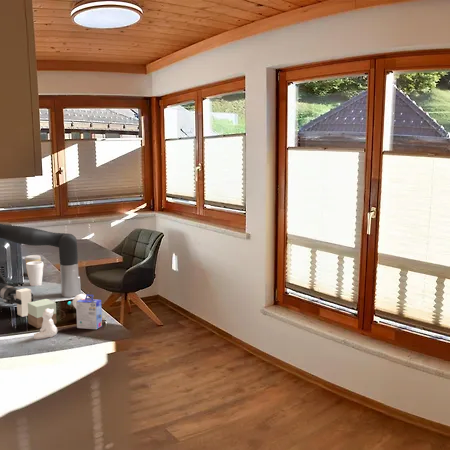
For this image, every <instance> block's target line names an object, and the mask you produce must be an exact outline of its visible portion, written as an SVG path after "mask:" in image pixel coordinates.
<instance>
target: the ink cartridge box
mask: <svg viewBox="0 0 450 450" xmlns="http://www.w3.org/2000/svg"><path fill="white" fill-rule="evenodd" d="M85 295H86V298H85V299H80V300H79V301H77V302H76V308H75V310H76V328H77V329H86V330H98V329H99V328H101V327H103V318H102V317H103V314H102V300H101V299H94V296H95V295H94V294H88V293H87V294H85ZM87 297H88V298H87Z"/></svg>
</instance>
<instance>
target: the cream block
mask: <svg viewBox="0 0 450 450" xmlns="http://www.w3.org/2000/svg"><path fill="white" fill-rule="evenodd" d="M18 289H19V288H18ZM31 293H32V289H30V288H27V287H25V288H21V289H19V290H16V298H17V299H20V300H21V301H22V304H21V305H19V304H16V311H17V313H16V314H17V315H18V316H20V317H28V303H29V302H32V301H31Z"/></svg>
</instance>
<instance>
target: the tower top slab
mask: <svg viewBox="0 0 450 450" xmlns="http://www.w3.org/2000/svg"><path fill="white" fill-rule="evenodd" d="M47 308H49V309H54V312H53V314H56V315H57V303H56V302H55V301H53V300H51V299H48V298H44V299H43V298H42V299H39V300H35V301H34V300H33V302H29V303H28V314H30V315H32V316H34V317H36V318H39V317H42V316H43V312H44V311H45V309H47Z"/></svg>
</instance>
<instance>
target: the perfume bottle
mask: <svg viewBox="0 0 450 450" xmlns="http://www.w3.org/2000/svg"><path fill="white" fill-rule="evenodd" d="M85 298H86V294H83V293H81V294H79V295H77V296H74V298H73V299H72V301H71V300H70V301H68V302H67V305H68V306H70V307H74V308H75V309H76V302H77V301H79V300H80V299H85ZM87 298H89V296H87Z"/></svg>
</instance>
